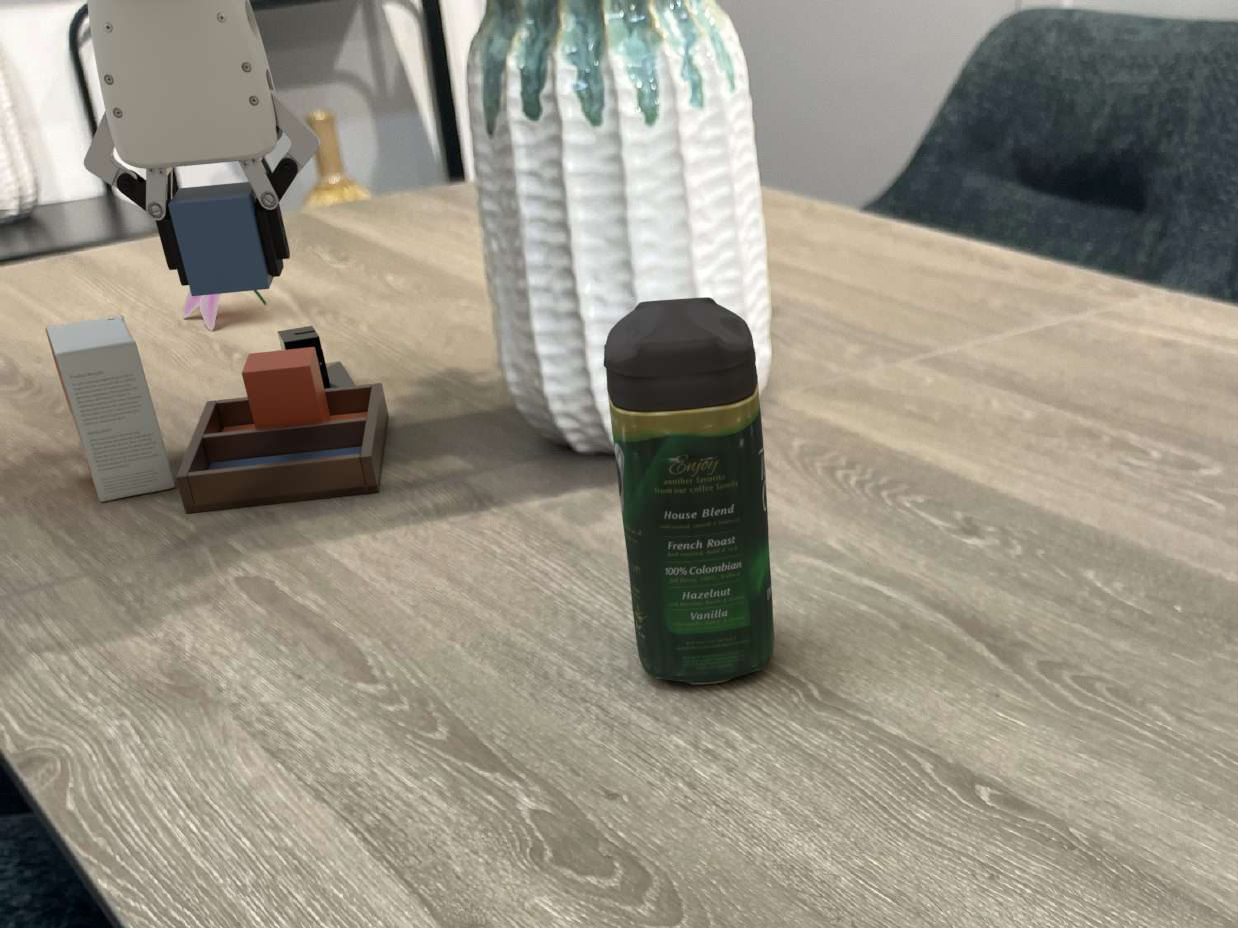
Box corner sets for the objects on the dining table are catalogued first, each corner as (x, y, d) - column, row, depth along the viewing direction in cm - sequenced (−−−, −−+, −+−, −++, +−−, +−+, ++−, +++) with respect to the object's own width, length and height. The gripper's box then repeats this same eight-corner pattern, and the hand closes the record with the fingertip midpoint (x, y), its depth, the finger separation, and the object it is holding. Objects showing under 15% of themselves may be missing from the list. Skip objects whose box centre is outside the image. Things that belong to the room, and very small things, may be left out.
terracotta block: (259, 447, 129) (241, 372, 126) (266, 426, 133) (248, 353, 130) (326, 440, 130) (309, 365, 126) (331, 419, 134) (314, 346, 130)
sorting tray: (185, 513, 121) (175, 477, 120) (215, 434, 135) (206, 400, 134) (378, 492, 122) (371, 455, 121) (388, 416, 136) (382, 382, 135)
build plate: (366, 405, 139) (354, 345, 136) (276, 421, 137) (261, 361, 134) (340, 364, 148) (328, 308, 145) (255, 378, 147) (241, 321, 144)
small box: (88, 471, 130) (43, 325, 123) (163, 457, 131) (122, 312, 125) (99, 503, 124) (51, 352, 118) (177, 488, 126) (135, 338, 119)
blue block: (191, 296, 112) (167, 204, 108) (201, 277, 115) (179, 188, 112) (269, 288, 112) (247, 196, 108) (276, 270, 116) (256, 180, 112)
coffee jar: (783, 683, 94) (759, 329, 83) (640, 696, 94) (595, 343, 82) (771, 612, 102) (747, 279, 90) (638, 624, 101) (597, 291, 90)
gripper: (304, -66, 106) (366, 250, 117) (22, -43, 105) (112, 275, 116) (293, -55, 100) (359, 277, 111) (-6, -30, 99) (92, 303, 110)
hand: (232, 273), depth 113 cm, fingers closed on blue block, 5 cm apart
